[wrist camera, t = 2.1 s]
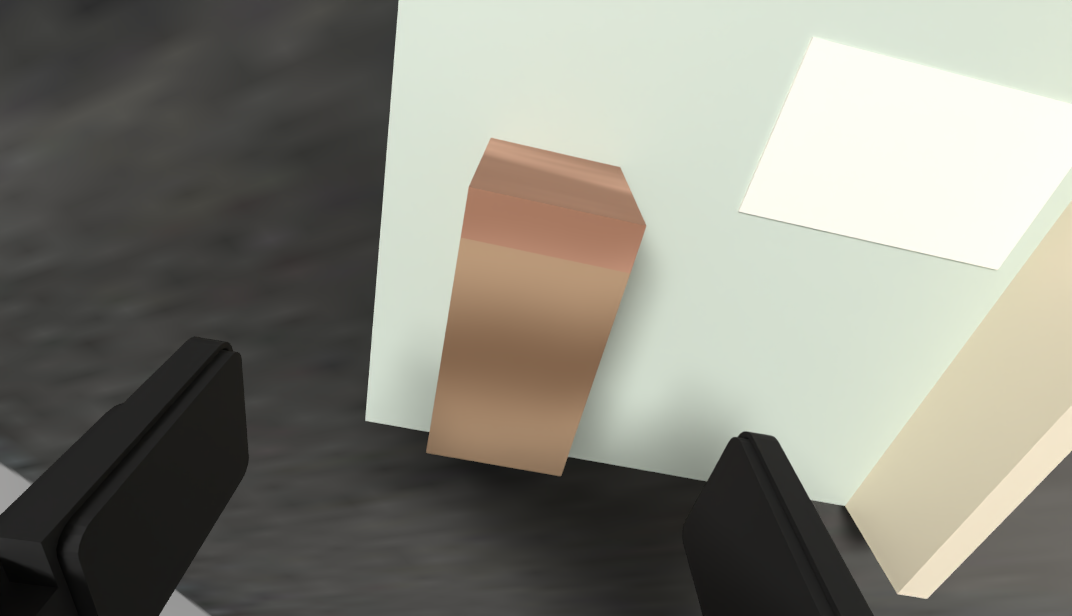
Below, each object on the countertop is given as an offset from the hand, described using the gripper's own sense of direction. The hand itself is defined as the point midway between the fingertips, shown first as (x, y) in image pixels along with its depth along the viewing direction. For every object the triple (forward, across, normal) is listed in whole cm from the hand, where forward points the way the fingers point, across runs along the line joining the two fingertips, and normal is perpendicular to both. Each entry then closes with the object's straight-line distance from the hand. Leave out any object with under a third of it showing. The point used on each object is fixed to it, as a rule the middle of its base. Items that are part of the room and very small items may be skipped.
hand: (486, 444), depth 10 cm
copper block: (+9, -1, 0) cm, 9 cm away
